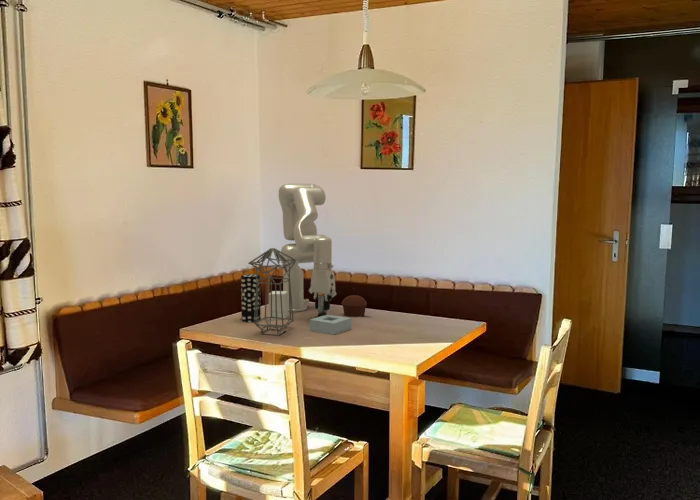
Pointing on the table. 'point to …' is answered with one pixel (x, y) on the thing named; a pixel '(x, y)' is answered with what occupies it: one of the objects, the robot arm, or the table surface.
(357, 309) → the muffin
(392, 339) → the table surface
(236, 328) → the table surface
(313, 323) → the socket
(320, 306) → the pin
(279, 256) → the geometric lantern
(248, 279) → the spotted tube
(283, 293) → the supplement box
